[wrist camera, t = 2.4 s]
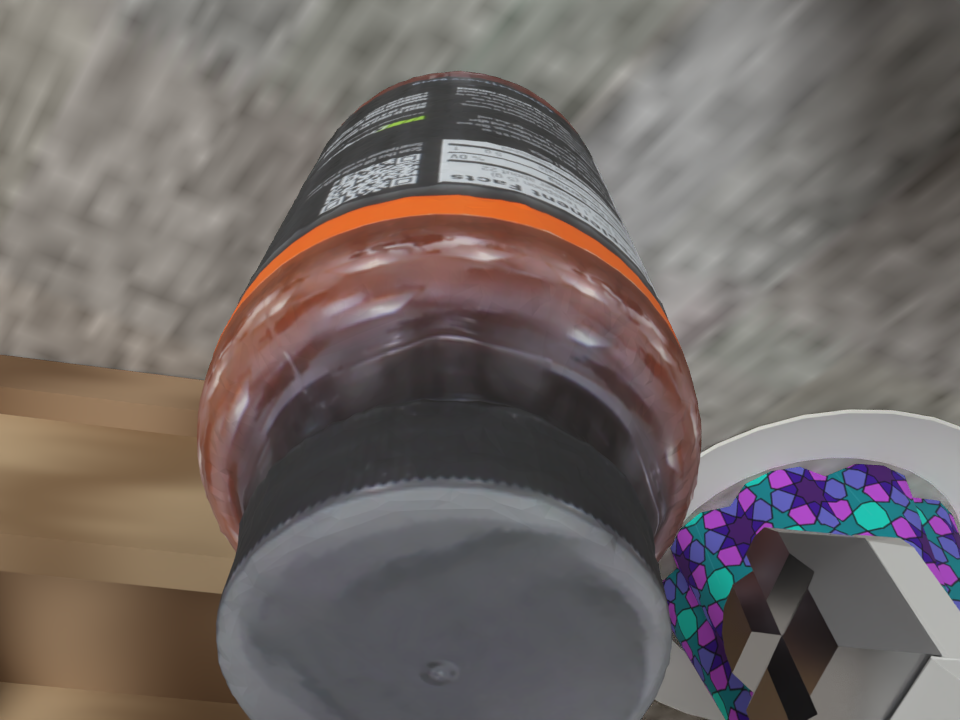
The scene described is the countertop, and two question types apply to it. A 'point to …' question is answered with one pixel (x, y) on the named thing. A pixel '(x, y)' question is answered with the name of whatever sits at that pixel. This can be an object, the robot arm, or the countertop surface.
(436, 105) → the supplement bottle
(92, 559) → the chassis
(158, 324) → the countertop surface
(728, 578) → the pudding
